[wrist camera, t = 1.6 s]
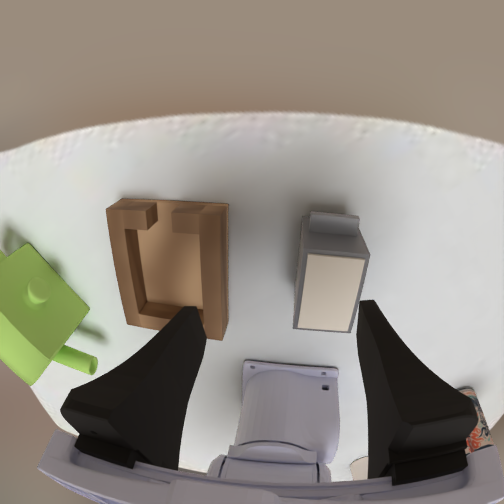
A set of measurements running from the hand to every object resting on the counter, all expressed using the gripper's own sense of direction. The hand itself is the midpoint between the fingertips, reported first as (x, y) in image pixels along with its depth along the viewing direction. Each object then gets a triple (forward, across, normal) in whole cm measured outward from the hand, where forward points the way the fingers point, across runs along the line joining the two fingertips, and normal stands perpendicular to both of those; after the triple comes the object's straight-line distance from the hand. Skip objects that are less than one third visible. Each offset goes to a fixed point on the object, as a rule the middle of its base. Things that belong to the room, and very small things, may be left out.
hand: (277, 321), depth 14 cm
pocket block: (+11, +10, +3) cm, 15 cm away
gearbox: (+11, +26, +7) cm, 29 cm away
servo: (+11, -2, +4) cm, 12 cm away
